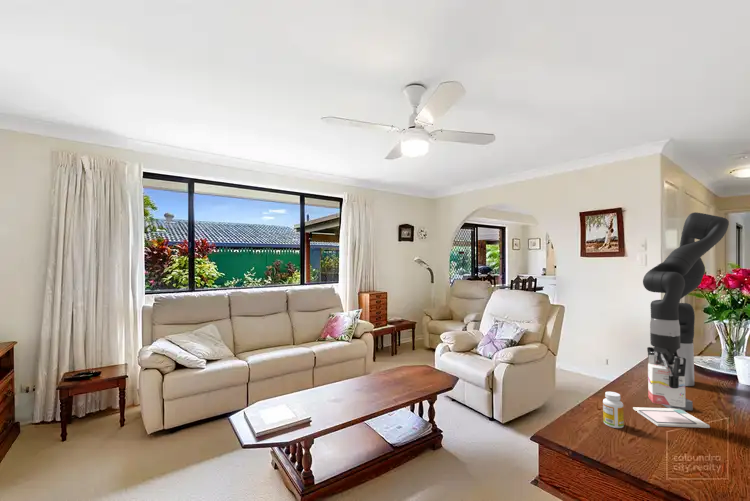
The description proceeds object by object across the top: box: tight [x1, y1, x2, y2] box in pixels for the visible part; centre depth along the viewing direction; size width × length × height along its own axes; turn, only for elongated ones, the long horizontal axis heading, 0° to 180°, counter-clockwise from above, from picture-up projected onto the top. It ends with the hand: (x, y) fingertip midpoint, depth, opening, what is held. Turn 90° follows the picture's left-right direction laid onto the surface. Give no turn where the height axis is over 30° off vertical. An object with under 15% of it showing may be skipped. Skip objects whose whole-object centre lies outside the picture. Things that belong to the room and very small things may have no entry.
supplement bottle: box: [602, 391, 625, 429], centre depth 110 cm, size 5×5×10 cm
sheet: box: [632, 406, 711, 429], centre depth 113 cm, size 12×15×1 cm
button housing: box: [661, 397, 694, 411], centre depth 123 cm, size 7×7×3 cm
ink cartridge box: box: [647, 355, 686, 407], centre depth 113 cm, size 9×5×15 cm, turn 65°
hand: (666, 383), depth 113 cm, fingers closed on ink cartridge box, 6 cm apart
